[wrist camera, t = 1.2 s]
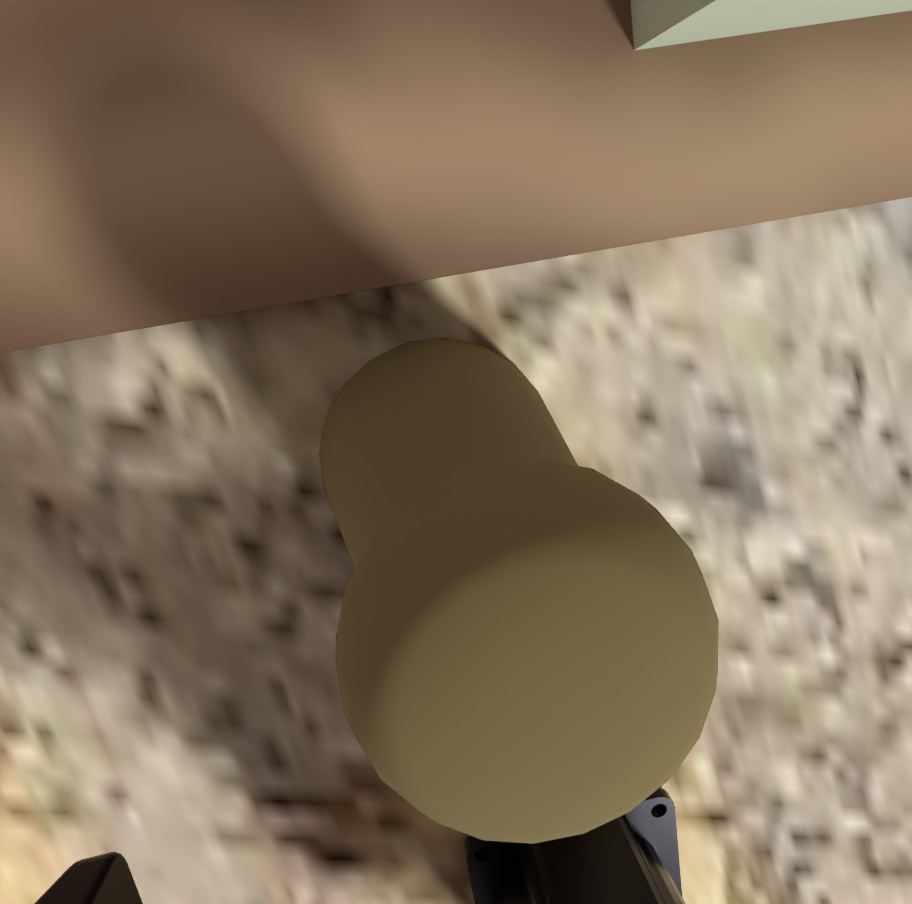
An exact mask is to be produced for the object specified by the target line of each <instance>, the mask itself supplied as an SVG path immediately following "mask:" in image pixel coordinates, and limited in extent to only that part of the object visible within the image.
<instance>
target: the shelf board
mask: <svg viewBox="0 0 912 904" xmlns="http://www.w3.org/2000/svg"><path fill="white" fill-rule="evenodd" d="M908 197H912V10H911V11H904V12H897V13H890V14H883V15H876V16H870V17H863V18H856V19H849V20H842V21H835V22H828V23H821V24H814V25H807V26H800V27H793V28H786V29H779V30H772V31H765V32H758V33H751V34H744V35H738V36H731V37H724V38H717V39H710V40H703V41H696V42H689V43H682V44H675V45H668V46H661V47H654V48H647V49H640V50H634V41H633V28H632V14H631V1H630V0H0V353H1V352H7V351H13V350H19V349H24V348H30V347H36V346H42V345H48V344H54V343H60V342H65V341H71V340H77V339H83V338H89V337H95V336H100V335H106V334H112V333H118V332H124V331H130V330H136V329H141V328H147V327H153V326H159V325H165V324H171V323H176V322H182V321H188V320H194V319H200V318H206V317H212V316H217V315H223V314H229V313H235V312H241V311H247V310H253V309H258V308H264V307H270V306H276V305H282V304H288V303H293V302H299V301H305V300H311V299H317V298H323V297H329V296H334V295H340V294H346V293H352V292H358V291H364V290H370V289H375V288H381V287H387V286H393V285H399V284H405V283H410V282H416V281H422V280H428V279H434V278H440V277H446V276H451V275H457V274H463V273H469V272H475V271H481V270H487V269H492V268H498V267H504V266H510V265H516V264H522V263H527V262H533V261H539V260H545V259H551V258H557V257H563V256H568V255H574V254H580V253H586V252H592V251H598V250H604V249H609V248H615V247H621V246H627V245H633V244H639V243H644V242H650V241H656V240H662V239H668V238H674V237H680V236H685V235H691V234H697V233H703V232H709V231H715V230H720V229H726V228H732V227H738V226H744V225H750V224H756V223H761V222H767V221H773V220H779V219H785V218H791V217H797V216H802V215H808V214H814V213H820V212H826V211H832V210H837V209H843V208H849V207H855V206H861V205H867V204H873V203H878V202H884V201H890V200H896V199H902V198H908Z"/></svg>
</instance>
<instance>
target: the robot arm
mask: <svg viewBox="0 0 912 904" xmlns="http://www.w3.org/2000/svg"><path fill="white" fill-rule="evenodd" d="M657 804H660V805H659V806H657V807H655V808H653V807H654V806H655V805H657ZM481 848H486V849H485V850H483V851H477V850H479V849H481ZM464 849H465V854H466V859H467V864H468V870H469V875H470V880H471V885H472V891H473V896H474V901H475V904H685V902H684V900H683V898H682V891H681V879H680V866H679V854H678V842H677V830H676V818H675V806H674V803H673V801H672V799H671V798H670V796H669V794H668V793H667V792H666V791H665V790H664V789H661V788H658V789H657V790H656V791H655V792H654V793H652V794H651V795H650V796H649V797H647V798H646V799H645V800H644V801H643V802H641V803H640V804H639V805H638V806H637V807H635V808H634V809H633V810H632V811H630V812H628V813H626V814H624V815H622V816H620V817H618V818H616V819H614V820H612V821H609V822H607V823H605V824H603V825H601V826H599V827H597V828H595V829H593V830H590V831H588V832H586V833H584V834H580V835H575V836H570V837H565V838H560V839H555V840H549V841H544V842H539V843H534V844H530V843H515V842H500V841H486V840H481V839H478V838H476V837H473V836H469V837H468V838H467V840H466V842H465V847H464ZM35 904H143V903H142V901H141V898H140V895H139V893H138V890H137V887H136V885H135V882H134V880H133V877H132V874H131V872H130V869H129V867H128V864H127V862H126V860H125V858H124V857H123V856H122V855H121V854H119V853H116V852H110V853H106V854H102V855H98V856H94V857H90V858H86V859H82V860H80V861H77V862H76V863H74V864H73V865H72V866H71V867H69V868H68V869H67V870H66V871H65V872H64V873H63V874H62V876H61V877H60V878H59V879H58V880H57V881H56V882H55V883H54V884H53V885H52V886H51V887H50V888H49V889H48V890H47V891H46V892H45V893H44V894H43V895H42V896H41V897H40V898H39V899H38V900H37V901H36V903H35Z"/></svg>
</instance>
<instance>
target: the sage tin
mask: <svg viewBox="0 0 912 904" xmlns="http://www.w3.org/2000/svg"><path fill="white" fill-rule="evenodd" d="M630 1H631V14H632V28H633V41H634V50H640V49H647V48H654V47H661V46H668V45H675V44H682V43H689V42H696V41H703V40H710V39H717V38H724V37H731V36H738V35H744V34H751V33H758V32H765V31H772V30H779V29H786V28H793V27H800V26H807V25H814V24H821V23H828V22H835V21H842V20H849V19H856V18H863V17H870V16H876V15H883V14H890V13H897V12H904V11H911V10H912V0H630Z"/></svg>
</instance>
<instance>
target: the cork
mask: <svg viewBox="0 0 912 904" xmlns="http://www.w3.org/2000/svg"><path fill="white" fill-rule="evenodd" d="M319 455H320V461H321V468H322V475H323V481H324V488H325V491H326V494H327V497H328V499H329V502H330V504H331V507H332V510H333V512H334V515H335V518H336V520H337V523H338V526H339V528H340V531H341V533H342V536H343V539H344V541H345V544H346V547H347V549H348V552H349V555H350V557H351V560H352V562H353V565H354V568H355V570H354V571H353V573H352V575H351V577H350V578H349V580H348V582H347V585H346V590H345V595H344V600H343V605H342V610H341V615H340V620H339V625H338V630H337V635H336V664H337V671H338V677H339V683H340V690H341V696H342V702H343V709H344V713H345V715H346V717H347V719H348V722H349V724H350V726H351V728H352V730H353V733H354V735H355V737H356V738H357V740H358V742H359V743H360V745H361V747H362V749H363V750H364V752H365V754H366V755H367V757H368V759H369V761H370V762H371V764H372V766H373V768H374V769H375V771H376V773H377V774H378V776H379V778H380V779H381V780H382V781H383V782H384V783H386V784H387V785H388V786H389V787H391V788H392V789H393V790H394V791H395V792H397V793H398V794H399V795H400V796H402V797H403V798H404V799H405V800H406V801H408V802H409V803H410V804H411V805H412V806H414V807H415V808H416V809H417V810H419V811H420V812H421V813H423V814H424V815H426V816H427V817H429V818H430V819H432V820H433V821H435V822H436V823H438V824H441V825H444V826H446V827H449V828H452V829H454V830H457V831H460V832H462V833H465V834H468V835H470V836H473V837H476V838H478V839H481V840H486V841H500V842H515V843H530V844H534V843H539V842H544V841H549V840H555V839H560V838H565V837H570V836H575V835H580V834H584V833H586V832H588V831H590V830H593V829H595V828H597V827H599V826H601V825H603V824H605V823H607V822H609V821H612V820H614V819H616V818H618V817H620V816H622V815H624V814H626V813H628V812H630V811H632V810H633V809H634V808H635V807H637V806H638V805H639V804H640V803H641V802H643V801H644V800H645V799H646V798H647V797H649V796H650V795H651V794H652V793H654V792H655V791H656V790H657V789H658V788H660V787H661V786H662V785H663V784H664V783H666V782H667V781H668V780H669V779H670V778H671V777H672V775H673V774H674V773H675V771H676V770H677V768H678V767H679V766H680V764H681V763H682V761H683V760H684V759H685V757H686V756H687V754H688V753H689V752H690V750H691V749H692V747H693V746H694V745H695V743H696V742H697V741H698V739H699V737H700V735H701V732H702V729H703V726H704V723H705V720H706V717H707V714H708V712H709V709H710V706H711V703H712V700H713V697H714V694H715V690H716V681H717V673H718V618H717V615H716V612H715V609H714V606H713V603H712V601H711V598H710V595H709V592H708V589H707V586H706V584H705V581H704V578H703V575H702V572H701V570H700V568H699V566H698V564H697V561H696V559H695V557H694V555H693V553H692V551H691V549H690V548H689V547H688V545H687V544H686V543H685V542H684V541H683V539H682V538H681V537H680V536H679V535H678V534H677V532H676V531H675V530H674V529H673V528H672V527H671V525H670V524H669V523H668V522H667V521H666V520H665V518H664V517H663V516H662V515H661V514H660V512H659V511H658V510H657V509H656V508H655V507H653V506H652V505H651V504H650V503H649V502H647V501H646V500H645V499H644V498H642V497H641V496H640V495H638V494H637V493H635V492H633V491H631V490H630V489H628V488H626V487H624V486H622V485H621V484H619V483H617V482H615V481H613V480H612V479H610V478H608V477H606V476H604V475H603V474H601V473H599V472H597V471H596V470H594V469H591V468H586V467H580V466H578V465H577V463H576V461H575V459H574V457H573V456H572V454H571V452H570V450H569V448H568V446H567V444H566V443H565V441H564V439H563V437H562V435H561V433H560V431H559V430H558V428H557V426H556V424H555V422H554V420H553V418H552V417H551V415H550V413H549V411H548V409H547V407H546V405H545V404H544V402H543V400H542V398H541V396H540V394H539V392H538V391H537V390H536V388H535V387H534V386H533V385H532V384H531V383H530V382H529V380H528V379H527V378H526V377H525V376H524V375H523V373H522V372H521V371H520V370H519V369H518V368H517V366H516V365H515V364H513V363H512V362H510V361H508V360H507V359H505V358H503V357H501V356H500V355H498V354H496V353H495V352H493V351H491V350H489V349H488V348H486V347H484V346H482V345H477V344H472V343H467V342H463V341H458V340H453V339H448V338H442V339H434V340H425V341H416V342H408V343H406V344H403V345H401V346H399V347H397V348H395V349H392V350H390V351H388V352H386V353H384V354H382V355H379V356H377V357H375V358H373V359H372V360H371V361H369V362H368V363H367V364H366V365H365V366H364V367H363V368H362V369H361V370H360V371H359V372H358V373H356V374H355V375H354V376H353V377H352V378H351V379H350V380H349V381H348V382H347V383H346V384H344V386H343V388H342V390H341V392H340V393H339V395H338V397H337V399H336V400H335V402H334V404H333V406H332V408H331V409H330V411H329V413H328V415H327V417H326V420H325V426H324V431H323V437H322V442H321V447H320V453H319Z"/></svg>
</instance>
